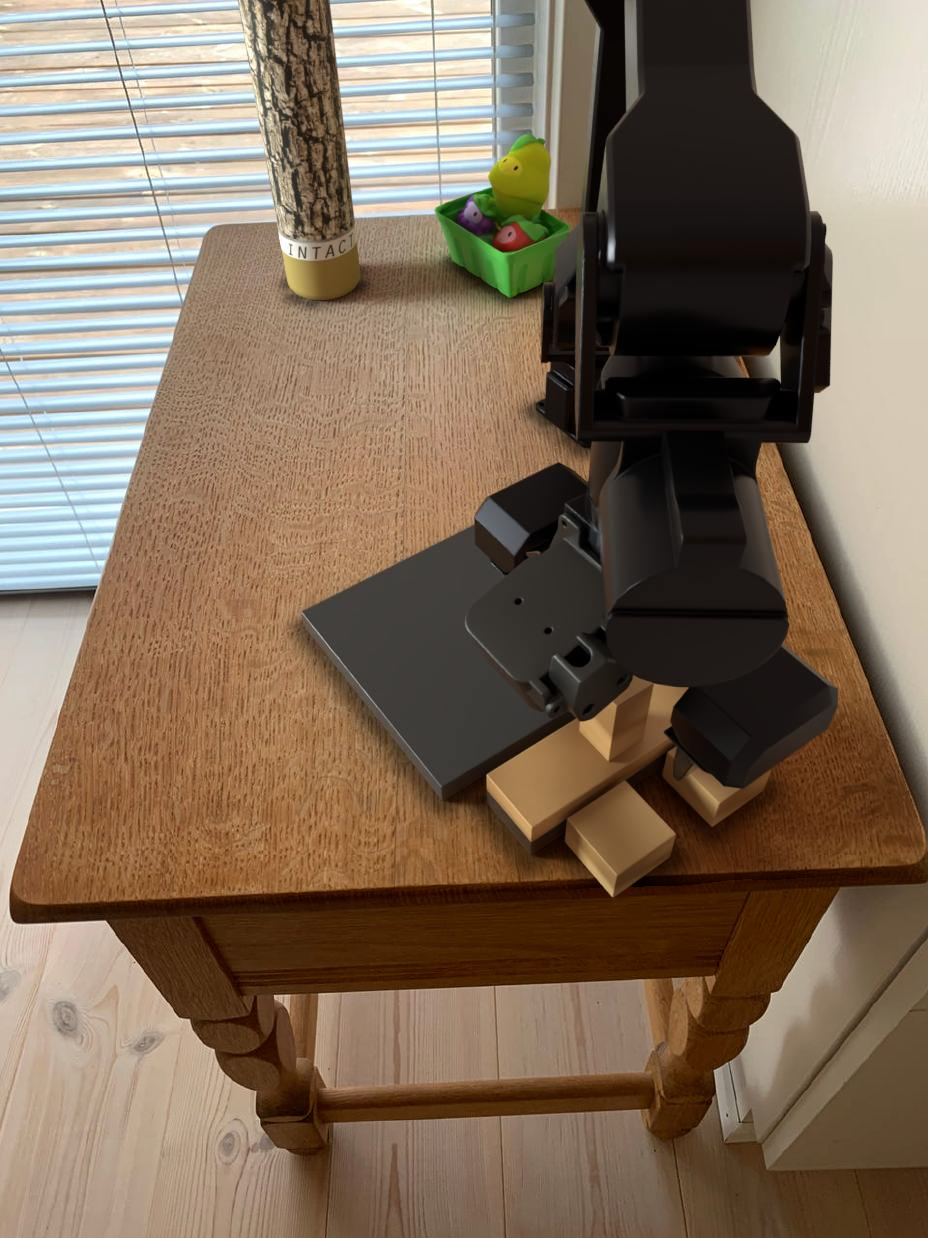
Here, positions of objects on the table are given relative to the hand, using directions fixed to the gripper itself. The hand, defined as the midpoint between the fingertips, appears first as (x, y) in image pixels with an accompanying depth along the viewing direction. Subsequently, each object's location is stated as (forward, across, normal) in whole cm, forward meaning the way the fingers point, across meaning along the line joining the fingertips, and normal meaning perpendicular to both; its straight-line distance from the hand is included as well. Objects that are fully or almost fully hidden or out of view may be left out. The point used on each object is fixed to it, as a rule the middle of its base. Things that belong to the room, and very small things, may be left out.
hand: (621, 714), depth 52 cm
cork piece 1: (+6, +4, -3) cm, 7 cm away
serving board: (+6, -12, 0) cm, 13 cm away
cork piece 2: (+6, +4, +4) cm, 8 cm away
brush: (+6, 0, 0) cm, 6 cm away
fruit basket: (+6, -48, +28) cm, 56 cm away
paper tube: (+6, -56, +13) cm, 58 cm away
